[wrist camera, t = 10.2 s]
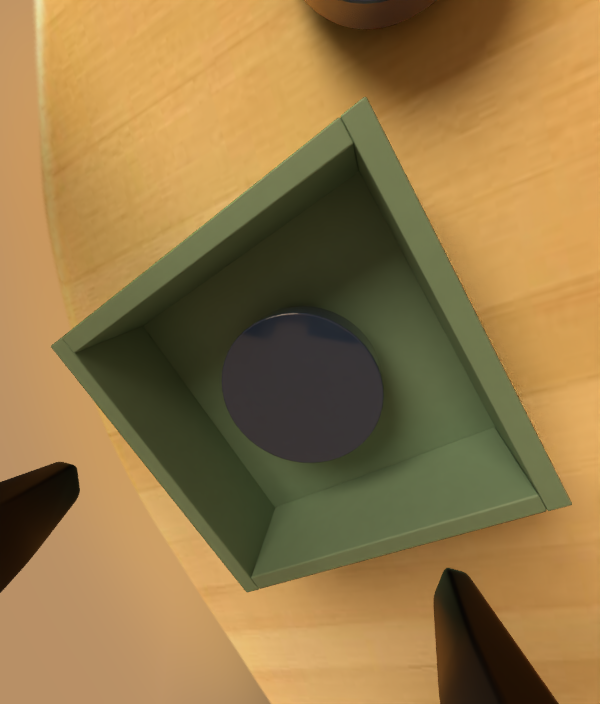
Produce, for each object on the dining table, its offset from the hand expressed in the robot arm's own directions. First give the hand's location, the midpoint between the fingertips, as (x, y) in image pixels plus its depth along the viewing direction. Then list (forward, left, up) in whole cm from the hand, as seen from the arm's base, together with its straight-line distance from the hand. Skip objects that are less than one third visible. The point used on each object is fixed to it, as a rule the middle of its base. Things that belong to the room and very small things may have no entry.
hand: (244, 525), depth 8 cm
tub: (0, 0, -10) cm, 10 cm away
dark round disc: (0, 0, -10) cm, 10 cm away
